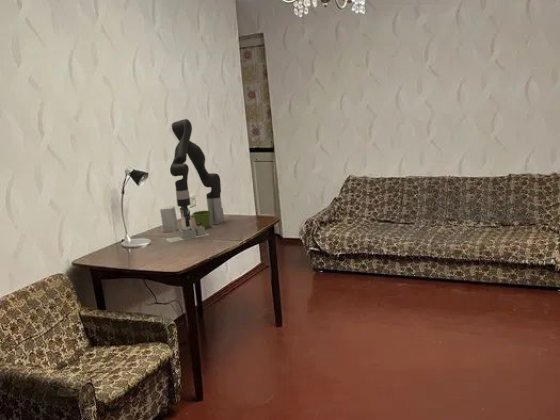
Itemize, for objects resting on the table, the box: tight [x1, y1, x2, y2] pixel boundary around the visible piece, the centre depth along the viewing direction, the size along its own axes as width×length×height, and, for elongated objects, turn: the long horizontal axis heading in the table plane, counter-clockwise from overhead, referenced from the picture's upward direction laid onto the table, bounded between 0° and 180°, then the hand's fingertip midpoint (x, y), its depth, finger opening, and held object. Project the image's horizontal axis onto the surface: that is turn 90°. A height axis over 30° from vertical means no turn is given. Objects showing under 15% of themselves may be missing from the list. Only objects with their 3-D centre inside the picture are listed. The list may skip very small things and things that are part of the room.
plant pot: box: [192, 210, 211, 229], centre depth 334 cm, size 12×12×11 cm
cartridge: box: [181, 214, 191, 231], centre depth 312 cm, size 5×5×12 cm
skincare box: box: [159, 206, 179, 234], centre depth 338 cm, size 8×7×16 cm
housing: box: [165, 226, 210, 243], centre depth 314 cm, size 24×10×6 cm, turn 115°
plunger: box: [195, 222, 203, 229], centre depth 316 cm, size 4×4×7 cm
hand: (186, 225), depth 313 cm, fingers closed on cartridge, 4 cm apart
